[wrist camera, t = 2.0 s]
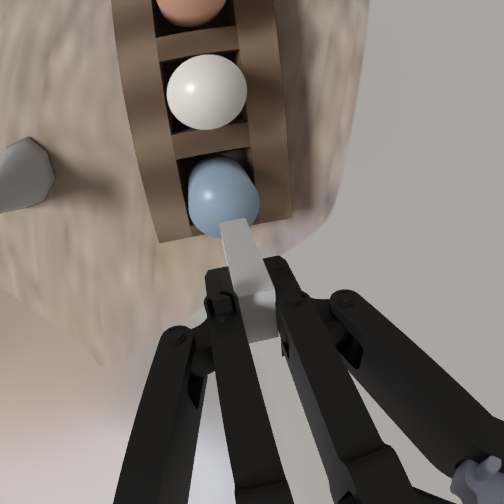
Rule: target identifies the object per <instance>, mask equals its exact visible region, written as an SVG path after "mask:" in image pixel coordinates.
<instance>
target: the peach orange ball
mask: <svg viewBox="0 0 504 504" xmlns="http://www.w3.org/2000/svg"><path fill="white" fill-rule="evenodd" d="M156 1H157V3H158V6H159V8H160V11H161V13H162V15H163V16H164V18H165V19H166V20H167V21H169V22H170V23H172V24H174V25H176V26H180V27H186V28H192V27H198V26H202V25H205V24H207V23H209V22H210V21H212V20H213V19H215V18H216V17H217V16H218V14H219V13H220V12H221V10H222V8H223V6H224V4H225V2H226V0H156Z"/></svg>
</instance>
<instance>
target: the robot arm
mask: <svg viewBox="0 0 504 504" xmlns="http://www.w3.org/2000/svg"><path fill="white" fill-rule="evenodd" d="M219 225H220V230H221V236H222V242H223V247H224V252H225V258H226V263H227V267H222V268H217V269H212V270H208V272H207V274H206V276H205V283H206V292H207V296H206V298H205V299H204V306H205V310H206V313H207V319H206V320H205V321H204V322H203V323H202V324H201V325H199V326H197V327H195V328H193V329H190V328H188V327H186V326H181V325H179V326H173V327H171V328H169V329H167V330H166V331H165V332H164V333H163V334H162V336H161V338H160V341H159V344H158V347H157V350H156V353H155V356H154V359H153V362H152V365H151V368H150V371H149V375H148V378H147V381H146V384H145V387H144V391H143V394H142V397H141V400H140V404H139V407H138V411H137V414H136V417H135V421H134V425H133V428H132V431H131V435H130V438H129V442H128V446H127V449H126V453H125V457H124V461H123V465H122V469H121V473H120V477H119V481H118V485H117V489H116V494H115V497H114V502H113V504H188V497H189V490H190V484H191V477H192V470H193V464H194V457H195V451H196V444H197V438H198V432H199V425H200V419H201V413H202V407H203V401H204V395H205V389H206V383H207V377H208V376H207V375H208V374H210V373H212V372H214V371H215V374H216V380H217V387H218V394H219V400H220V406H221V412H222V418H223V424H224V430H225V436H226V441H227V446H228V452H229V457H230V463H231V468H232V473H233V478H234V483H235V500H236V504H294V502H293V498H292V495H291V492H290V489H289V485H288V482H287V480H286V478H285V474H284V471H283V468H282V465H281V461H280V457H279V454H278V450H277V447H276V444H275V440H274V436H273V433H272V429H271V425H270V422H269V418H268V414H267V411H266V407H265V403H264V400H263V396H262V392H261V389H260V385H259V381H258V377H257V374H256V370H255V366H254V362H253V358H252V355H251V350H250V347H249V343H253V342H257V341H262V340H266V339H270V338H275V337H278V331H279V334H280V337H281V347H282V356H285V357H286V360H287V363H288V366H289V369H290V372H291V374H292V377H293V380H294V383H295V386H296V389H297V392H298V394H299V397H300V400H301V403H302V406H303V409H304V411H305V414H306V417H307V420H308V423H309V426H310V428H311V431H312V434H313V437H314V440H315V443H316V445H317V448H318V451H319V454H320V457H321V459H322V462H323V465H324V468H325V471H326V474H327V477H328V480H329V485H330V492H331V495H332V498H333V501H334V504H455V503H453V502H450V501H447V500H444V499H442V498H439V497H437V496H434V495H432V494H429V493H427V492H424V491H422V490H420V489H417V488H415V487H412V485H411V483H410V481H409V479H408V477H407V475H406V472H405V470H404V468H403V466H402V464H401V462H400V460H399V458H398V455H397V454H396V452H395V450H394V449H393V448H392V447H391V446H389V445H387V444H385V443H384V442H383V441H382V439H381V438H380V436H379V434H378V431H377V429H376V427H375V425H374V423H373V421H372V419H371V417H370V415H369V413H368V410H367V409H366V407H365V404H364V402H363V400H362V398H361V396H360V394H359V392H358V390H357V388H356V386H355V384H354V382H353V380H352V378H351V376H350V374H349V372H350V373H351V374H352V375H353V376H354V378H355V379H356V380H357V381H358V382H359V383H360V384H361V385H362V386H363V387H364V389H365V390H366V391H367V392H368V393H369V394H370V395H371V397H372V398H373V399H374V400H375V401H376V402H377V403H378V405H379V406H380V407H381V408H382V409H383V410H384V411H385V412H386V413H387V415H388V416H389V417H390V418H391V419H392V420H393V421H394V422H395V423H396V425H397V426H398V427H399V428H400V429H401V430H402V431H403V432H404V434H405V435H406V436H407V437H408V438H409V439H410V440H411V441H412V443H413V444H414V445H415V446H416V447H417V448H418V449H419V450H420V451H421V453H422V454H423V455H424V456H425V457H426V458H427V459H428V460H429V461H430V462H431V463H432V464H433V465H434V466H435V467H436V468H437V469H438V470H440V471H441V472H442V473H444V474H445V475H447V476H448V477H450V478H452V484H451V486H450V491H451V492H452V493H453V494H455V495H457V496H458V497H459V498H460V499H461V501H462V503H463V504H504V421H502V420H500V419H497V418H495V417H493V416H492V415H491V414H490V413H489V412H488V411H487V410H486V409H485V408H484V407H483V406H482V405H480V403H479V402H477V401H476V400H475V399H474V398H473V397H472V396H471V395H470V394H469V393H468V392H467V391H466V390H465V389H464V388H463V387H462V386H460V384H458V382H456V381H455V380H454V379H453V378H452V377H451V376H450V375H449V374H448V373H447V372H445V370H444V369H442V368H441V367H440V366H439V365H438V364H437V363H436V362H435V361H434V360H433V359H432V358H430V357H429V356H428V355H427V354H426V353H425V352H424V351H423V350H422V349H421V348H419V347H418V346H417V345H416V344H415V343H414V342H413V341H412V340H410V339H409V338H408V337H407V336H406V335H405V334H404V333H403V332H402V331H400V330H399V329H398V328H397V327H396V326H395V325H394V324H392V323H391V322H390V321H389V320H388V319H387V318H386V317H384V316H383V315H382V314H381V313H380V312H379V311H378V310H376V309H375V308H374V307H373V306H372V305H371V304H369V303H368V302H367V301H366V300H365V299H363V297H361V296H360V295H359V294H358V293H356V292H354V291H352V290H339V291H336V292H334V293H333V294H332V295H331V297H330V299H314V298H310V296H309V295H308V294H307V293H305V292H303V291H301V288H300V287H299V285H298V283H297V281H296V279H295V277H294V275H293V273H292V271H291V269H290V268H289V265H288V263H287V262H286V260H285V259H283V258H282V257H280V256H274V257H269V258H264V259H262V257H261V254H260V252H259V249H258V247H257V245H256V242H255V240H254V237H253V235H252V233H251V230H250V228H249V225H248V223H247V220H246V218H242V219H236V220H231V221H226V222H220V223H219ZM348 371H349V372H348Z"/></svg>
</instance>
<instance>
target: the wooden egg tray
mask: <svg viewBox="0 0 504 504" xmlns="http://www.w3.org/2000/svg"><path fill="white" fill-rule="evenodd" d="M111 1H112V13H113V22H114V31H115V40H116V47H117V55H118V62H119V68H120V75H121V81H122V87H123V93H124V98H125V104H126V109H127V114H128V120H129V124H130V129H131V134H132V139H133V143H134V148H135V152H136V157H137V161H138V165H139V170H140V174H141V178H142V182H143V186H144V190H145V194H146V197H147V201H148V205H149V209H150V212H151V216H152V220H153V223H154V227H155V230H156V234H157V237H158V241H159V243H164V242H168V241H173V240H178V239H183V238H188V237H193V236H198V235H203V234H205V233H203V232H202V231H200V230H199V229H198V228H197V227H196V226H195V225H194V223H193V222H192V220H191V218H190V214H189V205H188V199H187V195H186V190H185V185H184V180H183V175H182V170H181V165H180V160H179V159H182V158H187V157H192V156H197V155H202V154H208V153H213V152H219V151H225V150H231V149H237V148H243V147H244V153H245V161H246V169H247V175H248V177H249V178H250V180H251V182H252V183H253V185H254V186H255V188H256V190H257V192H258V195H259V201H260V205H259V211H258V214H257V217H256V219H255V220H254V222H253V223H252V224H251V225H255V224H260V223H266V222H271V221H277V220H282V219H288V218H292V207H291V189H290V173H289V158H288V144H287V131H286V119H285V107H284V96H283V85H282V75H281V66H280V56H279V47H278V38H277V30H276V22H275V14H274V6H273V0H226V8H227V16H228V24H229V26H228V27H219V28H211V29H203V30H196V31H190V32H184V33H178V34H173V35H168V36H163V37H159V29H158V21H157V13H156V4H155V0H111ZM229 54H232V55H233V63H234V64H235V65H236V66H237V67H238V68H239V69H240V70H241V72H242V73H243V75H244V78H245V80H246V85H247V97H246V101H245V104H244V106H243V108H242V110H241V111H240V117H236V118H234V119H233V120H232V121H231V122H229V123H228V124H226V125H224V126H222V127H219V128H216V129H210V130H200V129H195V128H191V127H189V126H183V127H178V128H173V122H172V116H171V110H170V107H169V105H168V101H167V86H166V80H165V73H164V66H163V65H167V64H172V63H177V62H182V61H187V60H189V59H191V58H193V57H196V56H200V55H217V56H221V55H229Z"/></svg>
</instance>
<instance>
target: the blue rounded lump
mask: <svg viewBox="0 0 504 504" xmlns="http://www.w3.org/2000/svg"><path fill="white" fill-rule="evenodd" d="M188 205H189V214H190V218H191V220H192V222H193V223H194V225H195V226H196V227H197V228H198V229H199V230H200V231H202V232H203V233H205V234H207V235H209V236H212V237H217V238H222V236H221V230H220V225H219V223H220V222H226V221H231V220H236V219H242V218H246V220H247V223H248V225H249V227H250V225H251V224H252V223H253V222H254V220H255V219H256V217H257V214H258V211H259V205H260V201H259V195H258V192H257V190H256V188H255V186H254V185H253V183H252V182H251V180H250V178H249V177H248V175H247V173H246V172H245V170H244V169H243V167H242V166H241V165H240V164H239V162H237V161H236V160H234V159H233V158H231V157H228V156H224V155H214V156H210V157H207V158H205V159H203V160H201V161H200V162H199V163H198V164H196V166H195V167H194V168H193V170H192V171H191V173H190V176H189V181H188Z"/></svg>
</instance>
